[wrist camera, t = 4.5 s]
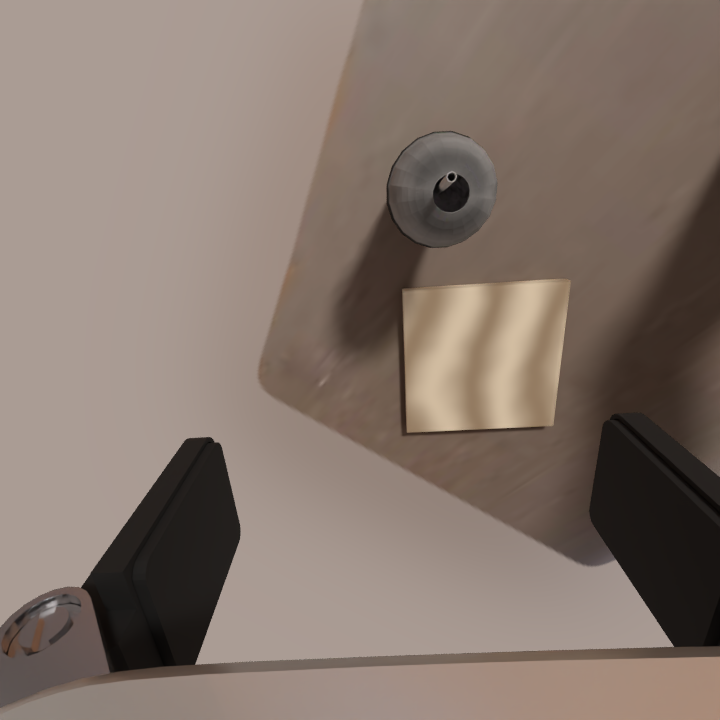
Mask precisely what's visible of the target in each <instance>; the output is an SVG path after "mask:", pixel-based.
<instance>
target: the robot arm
mask: <svg viewBox="0 0 720 720" xmlns="http://www.w3.org/2000/svg"><path fill="white" fill-rule="evenodd" d="M589 512H590V518H591V521H592V523H593V525H594V527H595V528H596V530H597V531H598V533H599V534H600V536H601V537H602V539H603V540H604V542H605V543H606V545H607V546H608V548H609V549H610V551H611V552H612V554H613V555H614V557H615V558H616V560H617V561H618V563H619V564H620V566H621V568H622V569H623V571H624V572H625V573H626V575H627V576H628V578H629V580H630V581H631V582H632V584H633V586H634V587H635V588H636V590H637V591H638V593H639V595H640V596H641V598H642V599H643V601H644V602H645V604H646V605H647V606H648V608H649V609H650V611H651V613H652V614H653V616H654V617H655V618H656V620H657V622H658V623H659V624H660V626H661V628H662V629H663V631H664V632H665V633H666V635H667V636H668V638H669V640H670V641H671V643H672V644H673V646H674V647H662V648H661V647H660V648H623V649H590V650H589V649H588V650H554V651H523V652H492V653H463V654H435V655H406V656H378V657H353V658H329V659H304V660H280V661H257V662H256V661H255V662H235V663H219V664H202V665H195V663H196V660H197V658H198V655H199V652H200V649H201V647H202V644H203V641H204V638H205V635H206V633H207V630H208V627H209V624H210V621H211V619H212V616H213V613H214V610H215V607H216V605H217V602H218V599H219V596H220V594H221V591H222V588H223V585H224V582H225V579H226V577H227V574H228V571H229V568H230V565H231V563H232V560H233V557H234V554H235V552H236V549H237V546H238V543H239V540H240V523H239V519H238V515H237V511H236V507H235V502H234V498H233V493H232V489H231V485H230V481H229V476H228V472H227V468H226V463H225V459H224V455H223V451H222V447H221V445H220V444H219V443H214V441H213V439H212V438H210V437H206V438H189V439H186V440H185V441H184V443H183V444H182V445H181V447H180V448H179V450H178V451H177V453H176V454H175V455H174V457H173V458H172V459H171V461H170V462H169V464H168V465H167V467H166V468H165V469H164V471H163V472H162V474H161V475H160V476H159V478H158V479H157V481H156V482H155V483H154V485H153V486H152V488H151V489H150V490H149V492H148V493H147V495H146V496H145V497H144V499H143V500H142V502H141V503H140V504H139V506H138V507H137V509H136V510H135V512H134V513H133V514H132V516H131V517H130V519H129V520H128V522H127V523H126V524H125V526H124V527H123V528H122V530H121V531H120V533H119V534H118V535H117V537H116V538H115V540H114V541H113V542H112V544H111V545H110V547H109V548H108V549H107V551H106V552H105V554H104V555H103V557H102V558H101V560H100V561H99V562H98V564H97V565H96V566H95V568H94V569H93V571H92V572H91V574H90V576H89V577H88V578H87V580H86V581H85V583H84V584H83V585H82V587H81V588H79V587H64V588H60V589H55V590H52V591H50V592H47V593H45V594H42V595H40V596H38V597H37V598H35V599H33V600H32V601H30V602H28V603H27V604H25V605H24V606H23V607H21V608H20V609H19V610H17V611H16V612H15V613H14V614H12V615H11V616H10V617H9V618H8V619H7V621H6V622H5V623H4V624H3V625H2V626H1V627H0V720H720V477H719V476H718V475H716V474H715V473H714V472H713V471H712V470H710V469H709V468H708V467H707V466H706V465H704V464H703V463H702V462H701V461H700V460H698V459H697V458H696V457H695V456H693V455H692V454H691V453H690V452H689V451H687V450H686V449H685V448H684V447H683V446H681V445H680V444H679V443H678V442H677V441H675V440H674V439H673V438H672V437H671V436H669V435H668V434H667V433H666V432H664V431H663V430H662V429H661V428H660V427H658V426H657V425H656V424H655V423H654V422H652V421H651V420H650V419H649V418H648V417H646V416H645V415H644V414H642V413H623V414H614V415H612V416H611V418H610V420H607V421H605V422H604V424H603V428H602V434H601V441H600V447H599V453H598V459H597V465H596V471H595V478H594V484H593V490H592V496H591V502H590V509H589Z"/></svg>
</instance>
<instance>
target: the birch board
mask: <svg viewBox="0 0 720 720" xmlns="http://www.w3.org/2000/svg"><path fill="white" fill-rule="evenodd" d="M570 283H571V281H570V280H567V279H549V280H533V281H516V282H500V283H484V284H468V285H451V286H435V287H419V288H403V289H402V304H403V338H404V372H405V406H406V430H407V433H411V432H432V431H453V430H474V429H496V428H517V427H538V426H553V422H554V414H555V406H556V397H557V389H558V381H559V373H560V365H561V356H562V348H563V340H564V332H565V324H566V315H567V307H568V299H569V291H570Z"/></svg>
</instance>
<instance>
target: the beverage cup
mask: <svg viewBox="0 0 720 720" xmlns="http://www.w3.org/2000/svg"><path fill="white" fill-rule="evenodd" d="M496 192H497V178H496V174H495V169H494V165H493V163H492V162H491V160H490V158H489V157H488V155H487V153H486V152H485V150H484V149H483V148H482V147H481V146H480V145H478V144H477V143H476V142H475V141H473V140H472V139H471V138H470V137H468V136H465V135H462V134H459V133H456V132H453V131H443V132H432V133H430V134H427V135H425V136H422V137H420V138H417V139H416V140H415V141H413V142H412V143H411V144H410V145H409V146H407V147H406V148H405V149H404V150H403V151H402V152H401V154H400V155H399V157H398V158H397V160H396V161H395V163H394V164H393V166H392V168H391V172H390V175H389V178H388V182H387V206H388V209H389V212H390V215H391V218H392V221H393V222H394V223H395V225H396V226H397V228H398V229H399V230H400V232H401V233H402V234H403V235H404V236H406V237H407V238H409V239H410V240H411V241H413V242H414V243H416V244H420V245H423V246H426V247H429V248H442V247H449V246H452V245H455V244H458V243H460V242H463V241H465V240H466V239H468V238H469V237H470V236H472V235H473V234H474V233H476V232H477V231H478V230H479V229H480V228H481V227H482V225H483V224H484V223H485V221H486V220H487V219H488V218H489V216H490V214H491V211H492V208H493V206H494V203H495V201H496Z"/></svg>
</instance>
